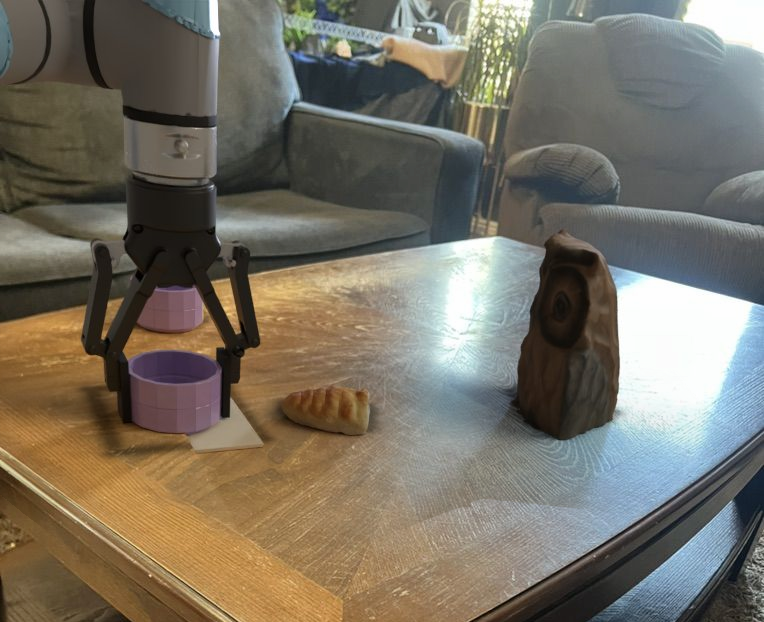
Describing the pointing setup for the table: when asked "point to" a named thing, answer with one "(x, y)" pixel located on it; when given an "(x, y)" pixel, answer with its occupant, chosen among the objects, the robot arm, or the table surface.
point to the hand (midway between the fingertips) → (174, 415)
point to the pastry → (330, 409)
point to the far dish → (172, 310)
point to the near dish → (175, 391)
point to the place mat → (226, 434)
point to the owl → (570, 343)
